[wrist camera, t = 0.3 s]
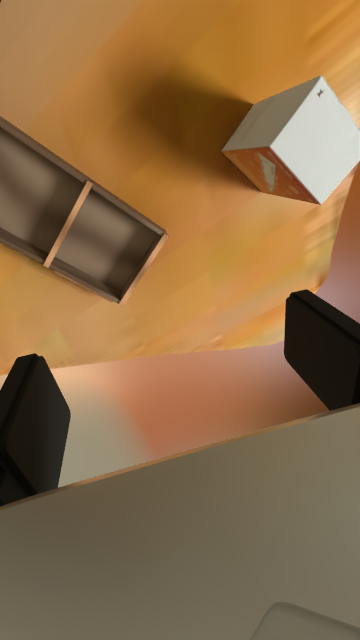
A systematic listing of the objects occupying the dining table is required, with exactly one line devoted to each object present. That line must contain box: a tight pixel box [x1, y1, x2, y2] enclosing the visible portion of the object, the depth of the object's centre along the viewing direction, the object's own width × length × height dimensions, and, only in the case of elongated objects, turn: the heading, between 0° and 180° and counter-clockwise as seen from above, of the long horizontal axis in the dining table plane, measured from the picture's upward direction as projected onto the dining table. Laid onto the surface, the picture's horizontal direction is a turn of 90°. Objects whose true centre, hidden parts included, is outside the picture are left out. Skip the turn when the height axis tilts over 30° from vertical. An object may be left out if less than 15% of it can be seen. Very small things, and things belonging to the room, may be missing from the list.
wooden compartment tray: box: [0, 116, 169, 307], centre depth 32 cm, size 11×31×4 cm, turn 54°
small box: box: [221, 76, 360, 205], centre depth 30 cm, size 8×6×13 cm
